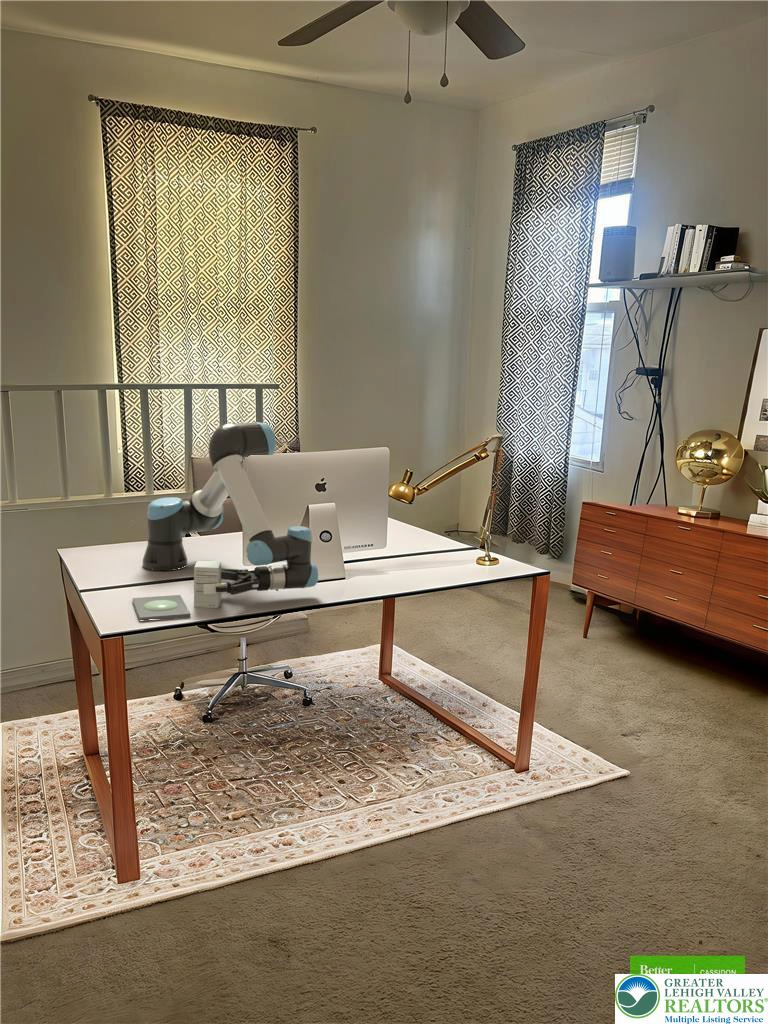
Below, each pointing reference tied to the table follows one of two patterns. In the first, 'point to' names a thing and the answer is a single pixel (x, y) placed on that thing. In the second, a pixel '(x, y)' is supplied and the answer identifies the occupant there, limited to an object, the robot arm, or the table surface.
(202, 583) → the supplement box
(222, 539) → the table surface
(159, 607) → the charging pad
